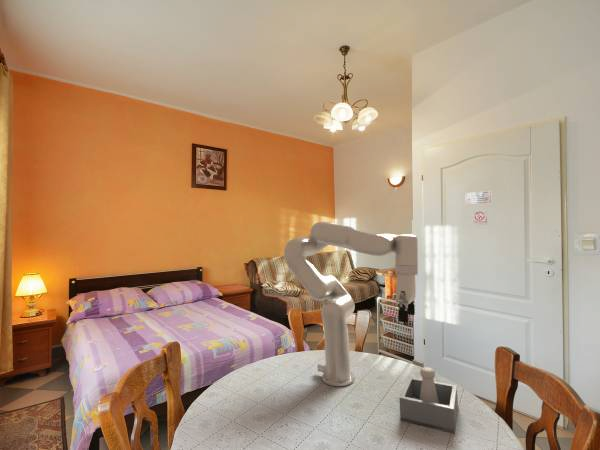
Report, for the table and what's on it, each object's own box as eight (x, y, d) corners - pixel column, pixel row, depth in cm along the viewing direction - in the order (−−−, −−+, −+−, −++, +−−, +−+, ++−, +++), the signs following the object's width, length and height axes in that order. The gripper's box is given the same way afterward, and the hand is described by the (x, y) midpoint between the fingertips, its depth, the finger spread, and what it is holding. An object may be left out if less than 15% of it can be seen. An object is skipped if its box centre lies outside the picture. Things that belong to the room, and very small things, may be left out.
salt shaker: (441, 416, 98) (439, 373, 98) (421, 415, 99) (419, 372, 100) (436, 405, 104) (434, 365, 104) (418, 404, 105) (416, 364, 105)
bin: (400, 420, 99) (399, 397, 99) (409, 397, 112) (408, 376, 112) (454, 433, 91) (453, 409, 92) (457, 407, 105) (456, 385, 105)
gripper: (401, 266, 123) (402, 310, 124) (388, 272, 109) (389, 323, 109) (422, 267, 120) (422, 313, 120) (411, 274, 105) (412, 326, 105)
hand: (406, 318), depth 114 cm, fingers open, 9 cm apart
